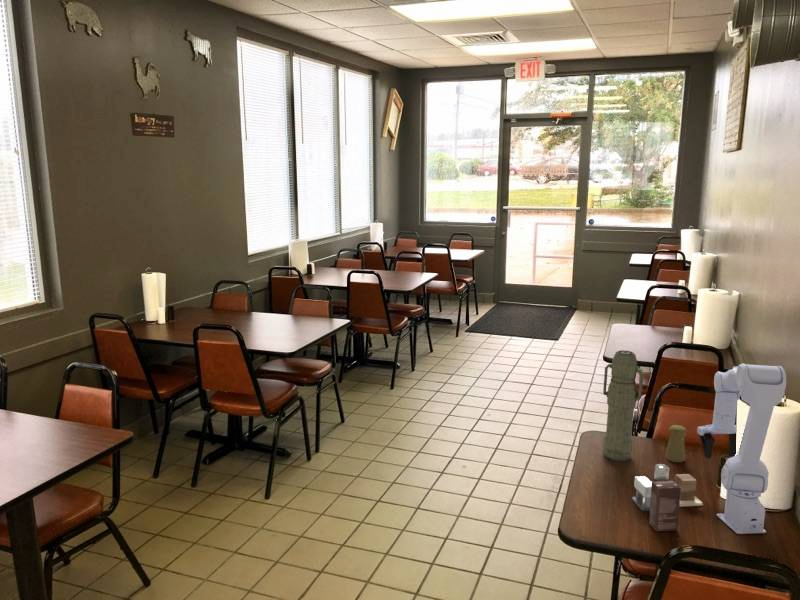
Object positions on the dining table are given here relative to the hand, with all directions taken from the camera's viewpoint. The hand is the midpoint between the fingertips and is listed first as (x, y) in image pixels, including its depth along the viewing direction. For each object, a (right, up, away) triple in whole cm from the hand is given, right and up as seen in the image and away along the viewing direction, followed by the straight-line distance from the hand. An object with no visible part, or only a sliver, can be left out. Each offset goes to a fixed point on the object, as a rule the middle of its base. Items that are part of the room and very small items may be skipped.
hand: (719, 457), depth 188 cm
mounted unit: (-26, -11, -10) cm, 30 cm away
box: (-25, -13, -21) cm, 36 cm away
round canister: (-15, -8, +6) cm, 18 cm away
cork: (-4, -6, +21) cm, 22 cm away
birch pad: (-13, -11, -6) cm, 18 cm away
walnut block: (-13, -10, -6) cm, 18 cm away
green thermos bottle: (-22, -5, +23) cm, 32 cm away
